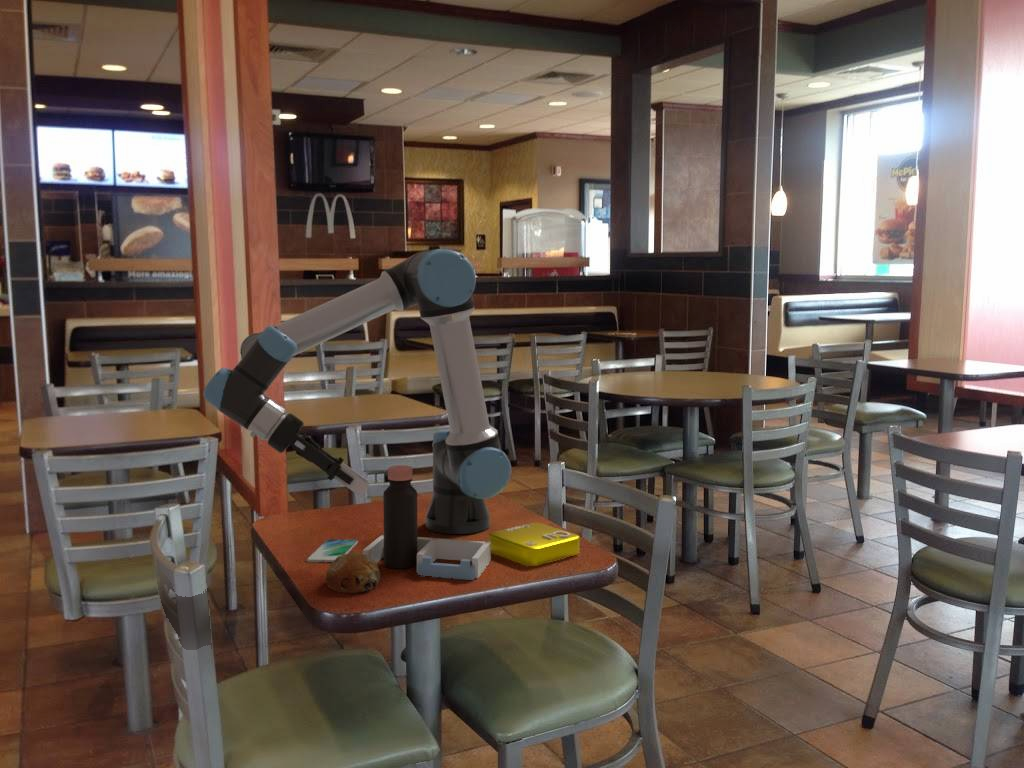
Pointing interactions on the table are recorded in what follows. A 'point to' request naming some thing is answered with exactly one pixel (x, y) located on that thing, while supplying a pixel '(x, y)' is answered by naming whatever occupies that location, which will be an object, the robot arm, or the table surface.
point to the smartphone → (331, 550)
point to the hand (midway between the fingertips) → (365, 488)
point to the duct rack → (443, 556)
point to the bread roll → (353, 573)
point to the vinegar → (400, 519)
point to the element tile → (534, 543)
